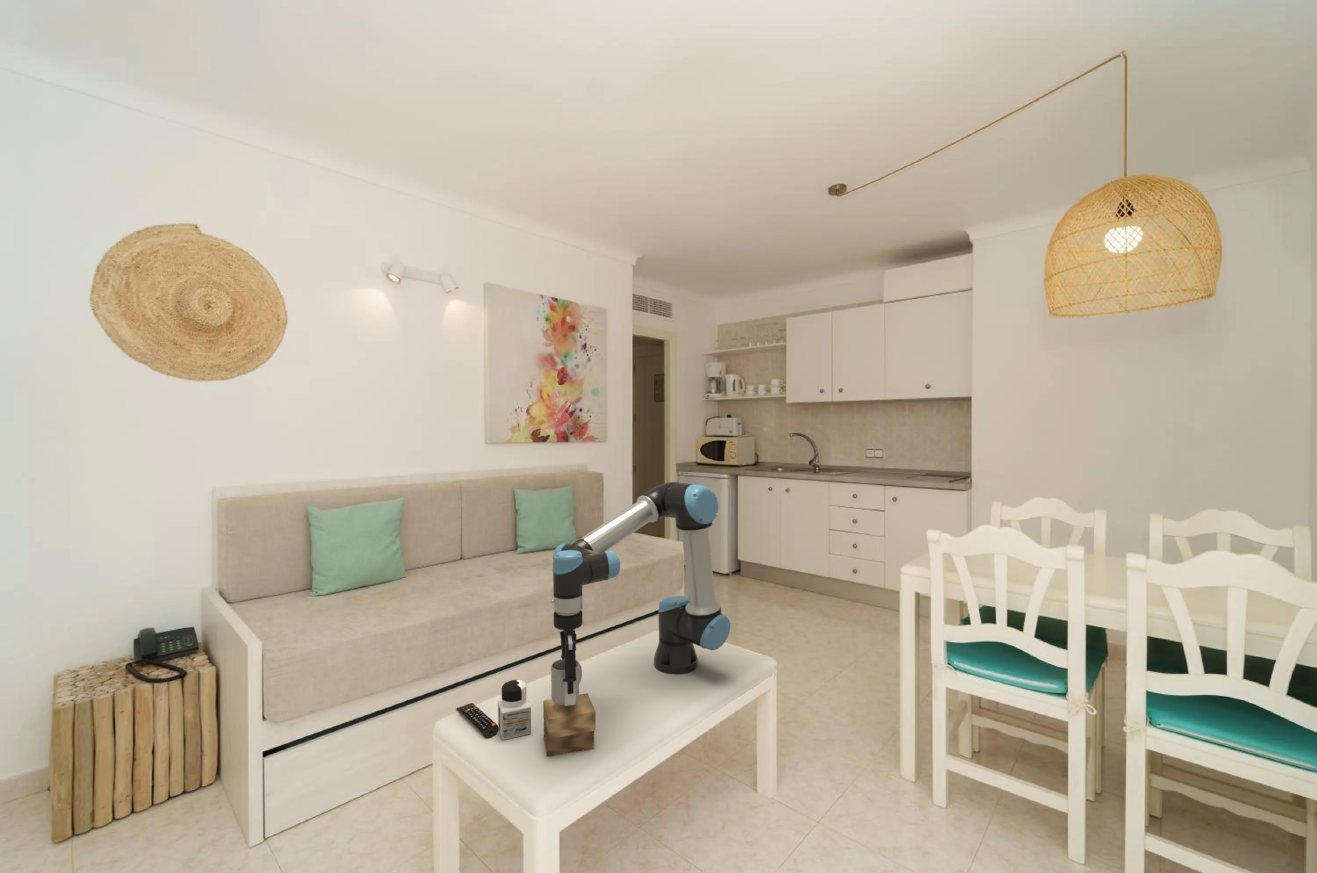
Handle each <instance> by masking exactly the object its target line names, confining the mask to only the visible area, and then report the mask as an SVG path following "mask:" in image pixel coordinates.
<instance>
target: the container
mask: <svg viewBox="0 0 1317 873" xmlns="http://www.w3.org/2000/svg"><path fill="white" fill-rule="evenodd" d="M498 725H499V726H498ZM497 726H498V730H499V734H500V738H501V740H503V741H505V740H509V739H514V738H517V737H524V736H528V735H531V733H532V707H531V703H530V701H529V699H528V696H527V683H526V682H525V681H524V680H521V679H511V680H509V681H506V682H505V683H503V684H502V685H501V698H498V699H497Z"/></svg>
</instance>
